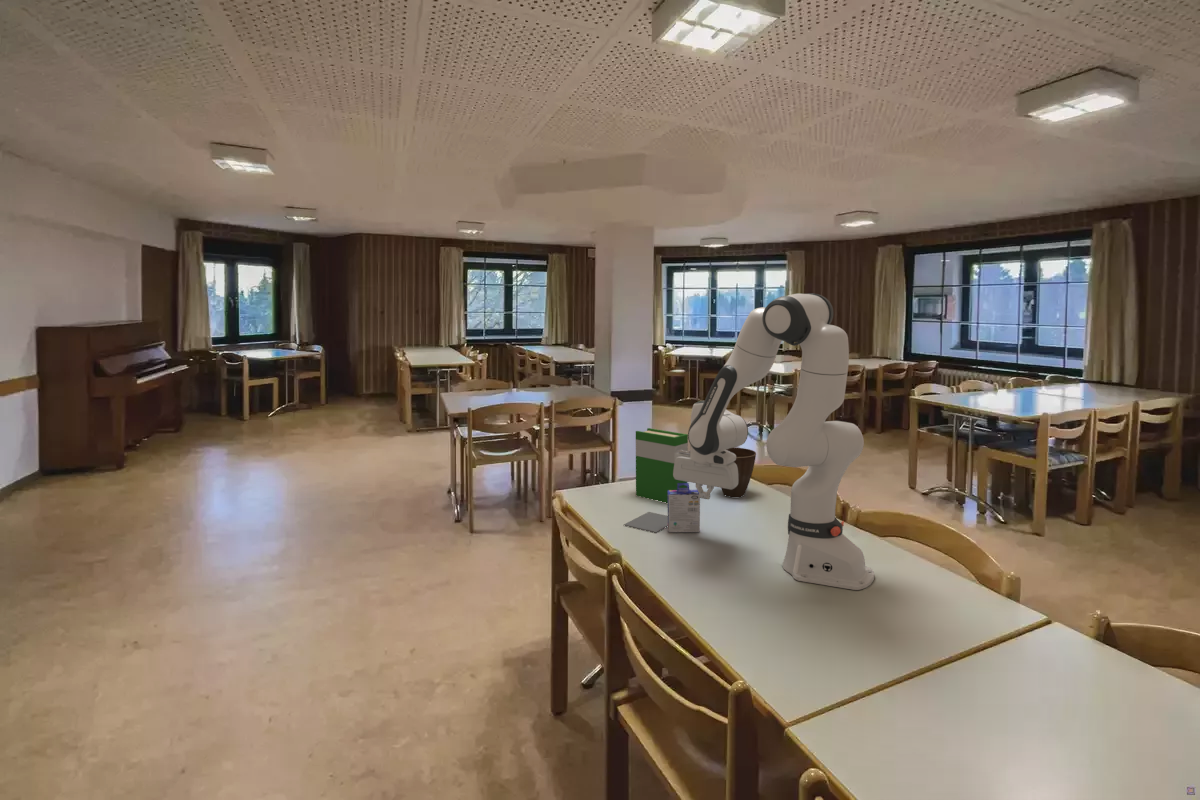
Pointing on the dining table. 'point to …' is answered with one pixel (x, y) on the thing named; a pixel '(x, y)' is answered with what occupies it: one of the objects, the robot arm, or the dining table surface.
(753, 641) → the dining table surface
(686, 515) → the ink cartridge box
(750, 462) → the plant pot
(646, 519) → the mat
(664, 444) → the hardback book
